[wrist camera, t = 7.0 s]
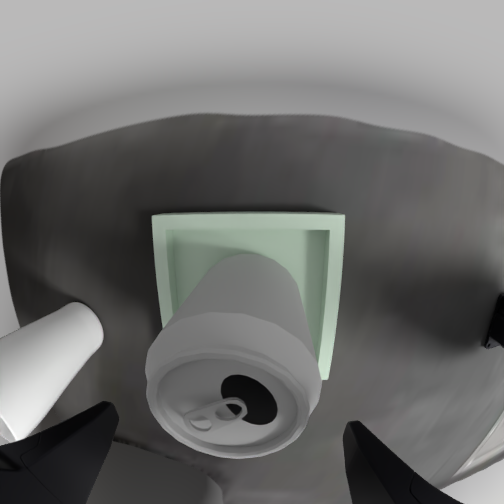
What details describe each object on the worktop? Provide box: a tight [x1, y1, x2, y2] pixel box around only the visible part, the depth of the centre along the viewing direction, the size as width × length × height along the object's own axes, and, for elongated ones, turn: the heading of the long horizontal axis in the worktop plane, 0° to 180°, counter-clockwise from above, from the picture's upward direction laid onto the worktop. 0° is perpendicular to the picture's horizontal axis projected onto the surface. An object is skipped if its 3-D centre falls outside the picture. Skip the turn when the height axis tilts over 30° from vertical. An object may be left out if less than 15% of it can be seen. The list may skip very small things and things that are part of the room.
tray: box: [152, 212, 345, 380], centre depth 20 cm, size 13×13×2 cm
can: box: [145, 254, 322, 459], centre depth 14 cm, size 8×8×12 cm
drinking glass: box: [0, 302, 103, 443], centre depth 15 cm, size 7×7×15 cm
